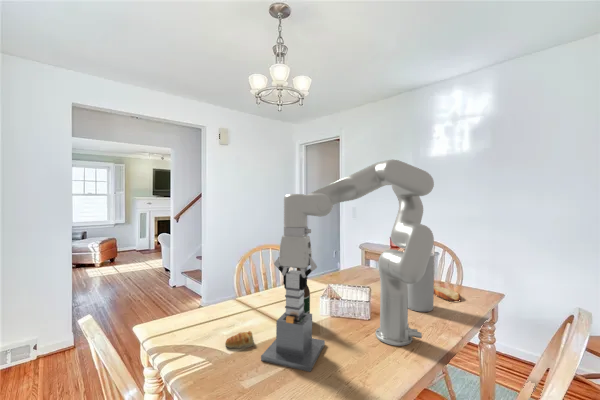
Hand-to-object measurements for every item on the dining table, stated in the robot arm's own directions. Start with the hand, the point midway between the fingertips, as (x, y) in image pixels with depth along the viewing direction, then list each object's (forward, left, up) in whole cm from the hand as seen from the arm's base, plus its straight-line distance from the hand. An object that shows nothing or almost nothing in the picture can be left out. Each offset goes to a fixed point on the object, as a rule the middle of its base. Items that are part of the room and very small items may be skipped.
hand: (295, 287), depth 92 cm
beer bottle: (+6, -22, -21) cm, 31 cm away
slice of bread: (-53, -79, -22) cm, 97 cm away
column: (0, 0, -13) cm, 13 cm away
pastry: (+19, +2, -22) cm, 29 cm away
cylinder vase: (-40, -56, -21) cm, 72 cm away
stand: (0, 0, -21) cm, 21 cm away
